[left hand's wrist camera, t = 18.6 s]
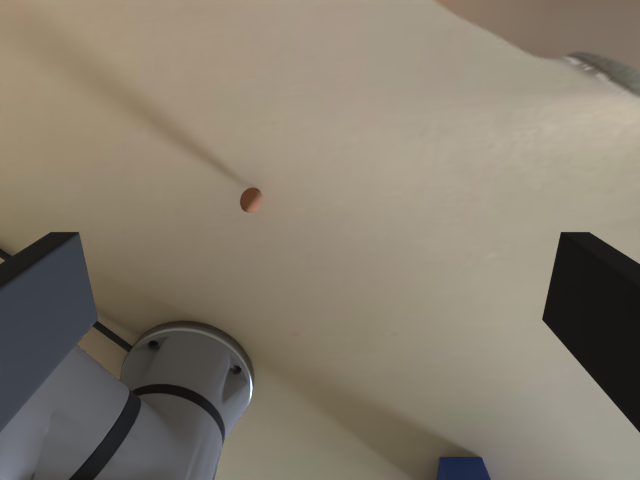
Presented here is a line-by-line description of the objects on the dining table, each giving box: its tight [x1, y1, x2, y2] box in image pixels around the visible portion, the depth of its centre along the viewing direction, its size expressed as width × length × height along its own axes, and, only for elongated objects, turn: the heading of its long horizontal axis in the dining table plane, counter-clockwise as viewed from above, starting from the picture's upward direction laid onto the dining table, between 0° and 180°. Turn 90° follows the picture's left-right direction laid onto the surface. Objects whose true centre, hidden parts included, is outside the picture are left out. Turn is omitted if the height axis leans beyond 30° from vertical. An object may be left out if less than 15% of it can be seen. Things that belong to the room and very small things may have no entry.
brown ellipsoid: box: [240, 188, 262, 213], centre depth 43 cm, size 2×2×5 cm
